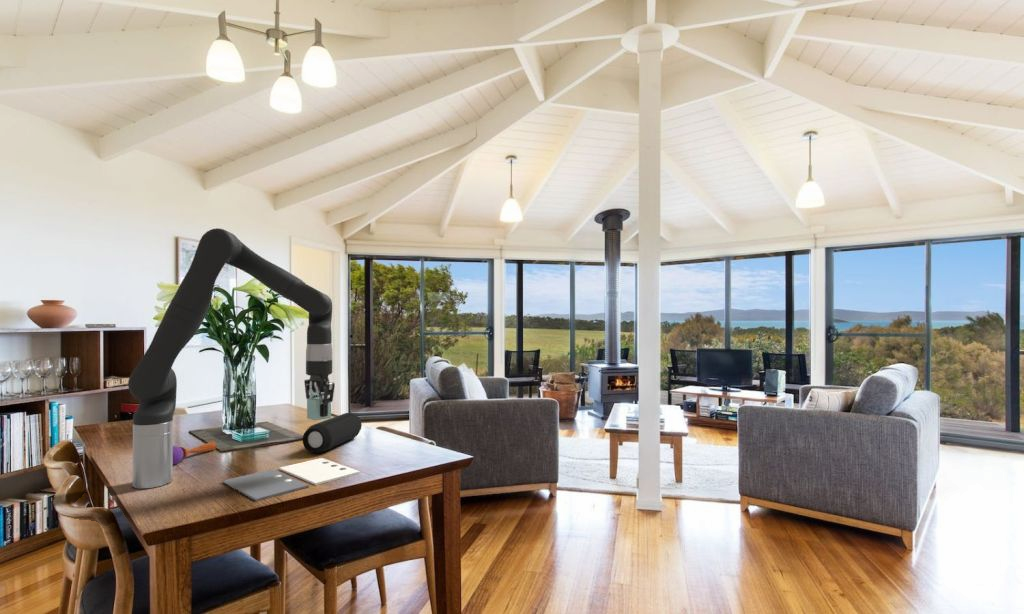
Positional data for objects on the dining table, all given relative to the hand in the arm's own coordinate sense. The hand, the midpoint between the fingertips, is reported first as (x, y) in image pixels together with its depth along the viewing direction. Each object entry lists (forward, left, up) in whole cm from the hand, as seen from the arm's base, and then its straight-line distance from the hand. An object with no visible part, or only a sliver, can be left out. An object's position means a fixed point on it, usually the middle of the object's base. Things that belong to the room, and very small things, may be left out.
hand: (319, 414), depth 155 cm
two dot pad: (0, -16, -17) cm, 23 cm away
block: (0, 0, -1) cm, 1 cm away
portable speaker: (-25, +19, -17) cm, 36 cm away
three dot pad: (0, 0, -17) cm, 17 cm away
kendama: (-46, -20, -17) cm, 53 cm away
